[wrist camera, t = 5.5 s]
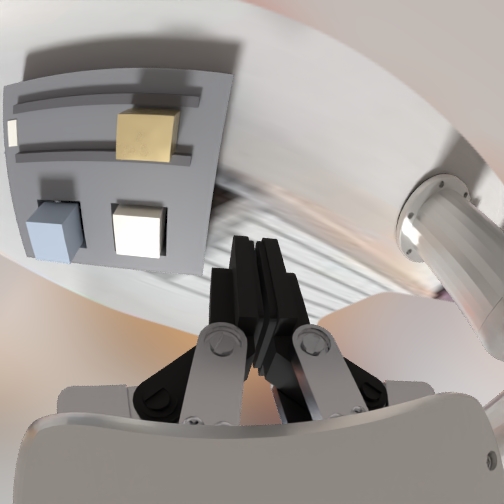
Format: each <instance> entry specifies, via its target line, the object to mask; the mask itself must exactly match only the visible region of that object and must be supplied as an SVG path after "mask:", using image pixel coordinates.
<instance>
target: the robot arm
mask: <svg viewBox="0 0 504 504" xmlns="http://www.w3.org/2000/svg"><path fill="white" fill-rule="evenodd" d="M396 239H397V244H398V247H399V249H400V251H401V252H402V253H403V255H404V256H405V257H406V258H407V259H409V260H411V261H413V262H425V263H426V264H427V265H428V267H429V268H430V269H431V271H432V272H433V273H434V274H435V276H436V277H437V278H438V280H439V281H440V282H441V284H442V285H443V286H444V288H445V289H446V291H447V292H448V293H449V295H450V296H451V298H452V299H453V300H454V302H455V303H456V305H457V306H458V307H459V309H460V310H461V312H462V314H463V315H464V317H465V318H466V319H467V321H468V323H469V324H470V326H471V327H472V329H473V331H474V332H475V334H476V335H477V337H478V338H479V340H480V342H481V343H482V345H483V347H484V348H485V350H486V351H487V352H488V353H489V354H490V355H491V356H493V357H494V358H496V359H498V360H501V361H504V232H503V231H502V230H501V229H500V228H499V227H498V226H497V225H496V224H495V223H494V222H493V221H492V220H490V219H489V218H488V217H487V216H486V215H485V214H484V213H482V212H481V211H480V210H479V209H478V208H477V207H475V206H474V205H473V204H472V203H471V202H470V194H469V191H468V188H467V186H466V185H465V184H464V182H463V181H461V180H460V179H459V178H457V177H455V176H453V175H451V174H439V175H436V176H434V177H431V178H430V179H428V180H426V181H425V182H424V183H422V184H421V185H420V186H419V187H418V188H417V189H416V190H415V191H414V192H413V194H412V195H411V196H410V198H409V199H408V201H407V202H406V204H405V206H404V208H403V210H402V212H401V214H400V217H399V220H398V224H397V230H396ZM252 363H253V367H254V368H258V373H259V376H265V379H266V380H267V381H268V382H270V383H271V390H272V393H273V397H274V400H275V403H276V406H277V409H278V413H279V416H280V419H281V422H282V424H275V425H256V426H239V423H240V414H241V403H242V394H243V383H244V381H245V380H247V378H248V374H249V371H250V368H251V365H252ZM13 504H504V390H503V391H502V392H501V393H500V394H499V395H497V396H496V397H495V398H494V399H493V400H491V401H490V402H489V403H488V404H486V405H485V406H484V407H482V405H481V404H480V403H479V402H478V400H477V399H475V398H474V397H472V396H470V395H467V394H463V393H454V392H445V393H438V394H435V392H434V390H433V388H432V387H431V386H430V385H429V384H427V383H425V382H411V381H387V380H386V381H385V382H384V383H382V382H381V381H380V380H378V379H377V378H376V377H374V376H372V375H371V374H369V373H368V372H366V371H365V370H363V369H361V368H360V367H358V366H357V365H355V364H354V363H352V362H351V361H349V360H348V359H346V358H345V357H343V356H342V354H341V352H340V350H339V348H338V346H337V344H336V342H335V340H334V338H333V336H332V335H331V334H330V333H329V332H328V331H327V330H326V329H324V328H322V327H320V326H318V325H314V324H310V322H309V318H308V315H307V311H306V308H305V305H304V301H303V298H302V294H301V291H300V288H299V284H298V281H297V278H296V275H295V274H294V273H286V269H285V266H284V262H283V258H282V255H281V251H280V247H279V244H278V240H277V239H270V238H262V241H257V243H256V247H255V248H254V242H253V241H250V240H249V238H248V237H247V236H235V235H234V237H233V243H232V250H231V257H230V264H229V269H224V268H212V273H211V286H210V304H209V325H208V326H206V327H205V328H204V329H203V330H202V331H201V332H200V335H199V337H198V341H197V345H196V346H195V347H193V348H192V349H190V350H189V351H187V352H186V353H185V354H183V355H182V356H180V357H179V358H178V359H176V360H175V361H173V362H172V363H170V364H169V365H167V366H166V367H165V368H163V369H161V370H160V371H159V372H157V373H156V374H154V375H153V376H151V377H150V378H148V379H147V380H145V381H144V382H142V383H141V384H140V385H139V386H134V387H127V385H107V386H71V387H67V388H66V389H64V390H62V392H61V393H60V395H59V396H58V401H57V414H53V415H48V416H45V417H42V418H39V419H37V420H35V421H34V422H33V423H32V424H31V425H30V426H29V427H28V429H27V431H26V433H25V435H24V437H23V440H22V442H21V446H20V449H19V453H18V458H17V463H16V470H15V479H14V488H13Z"/></svg>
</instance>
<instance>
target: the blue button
mask: <svg viewBox="0 0 504 504" xmlns="http://www.w3.org/2000/svg"><path fill="white" fill-rule="evenodd" d="M26 225H27V229H28V233H29V237H30V240H31V244H32V248H33V251H34V254H35V258H36V260H43V261H51V262H58V263H66V264H71V262H72V260H73V258H74V257H75V255H76V253H77V251H78V250H79V248H80V246H81V244H82V243H83V241H84V240H83V234H82V228H81V221H80V214H79V206H78V203H57V202H44V203H43V204H42V205H41V206H40V207H39V208H38V209H37V210H36V211H35V212H34V213H33V214H32V215H31V216H30V218H29V219H28V220H27V221H26Z"/></svg>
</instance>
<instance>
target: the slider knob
mask: <svg viewBox="0 0 504 504" xmlns="http://www.w3.org/2000/svg"><path fill="white" fill-rule="evenodd" d="M180 111H181V110H176V109H160V108H130V109H127V110H125V111H123V112H121V113H119V114H118V117H117V135H116V159H120V160H142V161H158V162H170V160H171V158H172V156H173V154H174V152H175V150H176V143H177V134H178V126H179V118H180Z"/></svg>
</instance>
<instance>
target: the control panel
mask: <svg viewBox="0 0 504 504" xmlns="http://www.w3.org/2000/svg"><path fill="white" fill-rule="evenodd" d="M233 77H234V75H233V74H226V73H218V72H210V71H200V70H188V69H173V68H114V69H99V70H88V71H79V72H71V73H64V74H58V75H52V76H46V77H41V78H36V79H32V80H27V81H23V82H19V83H15V84H11V85H8V86H4V92H3V128H4V145H5V156H6V165H7V172H8V179H9V185H10V191H11V197H12V202H13V206H14V211H15V215H16V220H17V224H18V228H19V231H20V235H21V239H22V242H23V246H24V249H25V252H26V255H27V257H32V258H35V254H34V251H33V248H32V244H31V240H30V237H29V233H28V229H27V225H26V221H27V220H28V219H29V218H30V216H31V215H32V214H33V213H34V212H35V211H36V210H37V209H38V208H39V207H40V206H41V205H42V204H43V203H44V202H53V200H63V201H80V204H81V212H82V220H83V227H84V230H82V234H83V240H84V241H83V243H82V244H81V246H80V248H79V250H78V251H77V253H76V255H75V257H74V258H73V260H72V262H71V263H79V264H87V265H96V266H105V267H114V268H123V269H133V270H143V271H153V272H164V273H175V274H186V275H198V276H202V275H203V266H204V257H205V249H206V241H207V233H208V225H209V218H210V210H211V203H212V196H213V189H214V183H215V176H216V170H217V164H218V157H219V151H220V146H221V140H222V134H223V128H224V123H225V117H226V112H227V107H228V102H229V97H230V91H231V86H232V82H233ZM130 108H160V109H176V110H181V111H180V118H179V126H178V134H177V143H176V150H175V152H174V154H173V156H172V158H171V160H170V162H158V161H142V160H120V159H116V135H117V117H118V114H119V113H121V112H123V111H125V110H127V109H130ZM119 204H131V205H145V206H157V207H168V215H167V237H164V241H163V245H162V249H161V254H160V258H152V257H141V256H131V255H120V254H117V253H116V244H115V234H114V223H113V214H114V212H115V210H116V209H117V207H118V205H119Z"/></svg>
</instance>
